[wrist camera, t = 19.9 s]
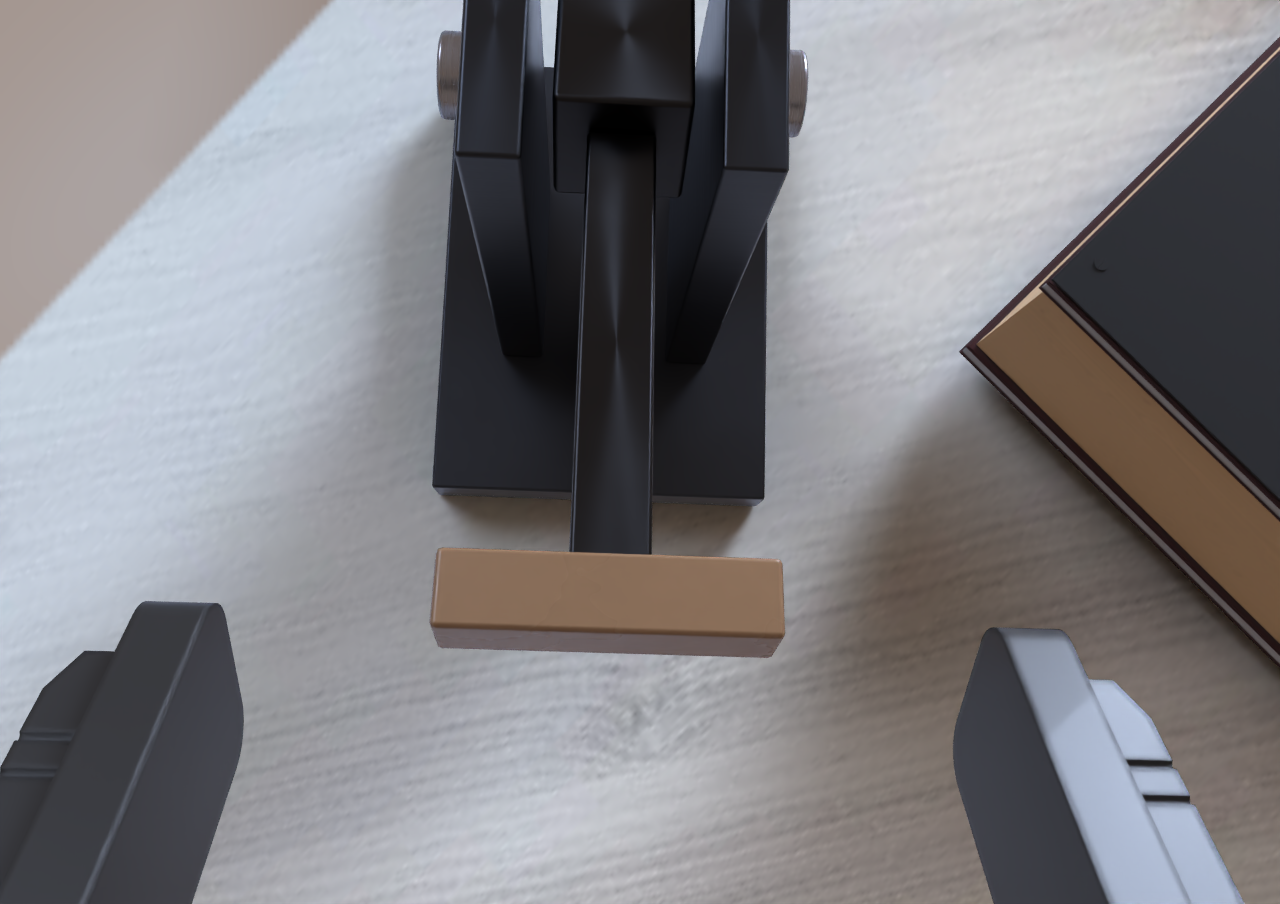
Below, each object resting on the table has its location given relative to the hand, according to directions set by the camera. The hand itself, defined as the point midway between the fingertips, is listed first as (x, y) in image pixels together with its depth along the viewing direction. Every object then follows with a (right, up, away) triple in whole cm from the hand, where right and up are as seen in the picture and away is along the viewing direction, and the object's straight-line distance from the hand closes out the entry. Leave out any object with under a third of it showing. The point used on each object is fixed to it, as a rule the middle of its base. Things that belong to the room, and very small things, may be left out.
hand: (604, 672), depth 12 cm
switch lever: (0, +4, +6) cm, 8 cm away
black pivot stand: (0, +7, +18) cm, 19 cm away
